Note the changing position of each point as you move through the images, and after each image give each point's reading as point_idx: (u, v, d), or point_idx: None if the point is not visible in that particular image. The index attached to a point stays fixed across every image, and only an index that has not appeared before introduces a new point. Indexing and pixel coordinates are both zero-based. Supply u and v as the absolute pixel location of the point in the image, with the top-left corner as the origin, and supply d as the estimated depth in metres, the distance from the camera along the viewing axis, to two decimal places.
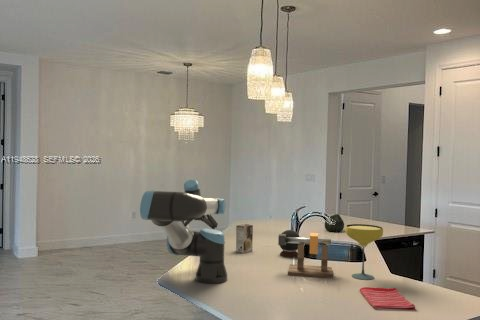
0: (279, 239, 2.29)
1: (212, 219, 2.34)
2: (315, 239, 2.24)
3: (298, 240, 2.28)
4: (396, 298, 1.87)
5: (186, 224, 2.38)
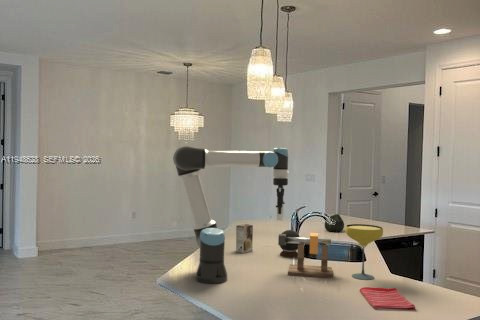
0: (279, 239, 2.29)
1: (279, 196, 2.24)
2: (315, 239, 2.24)
3: (298, 240, 2.28)
4: (396, 298, 1.87)
5: None
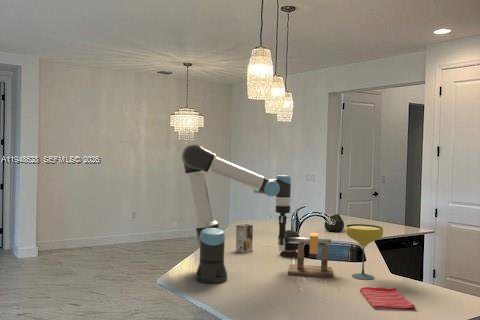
0: None
1: (281, 227, 2.25)
2: (315, 239, 2.24)
3: (298, 240, 2.28)
4: (396, 298, 1.87)
5: None
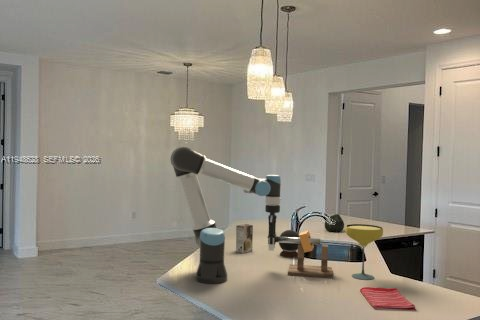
0: None
1: (271, 227, 2.26)
2: (305, 237, 2.24)
3: (287, 240, 2.29)
4: (396, 298, 1.87)
5: None
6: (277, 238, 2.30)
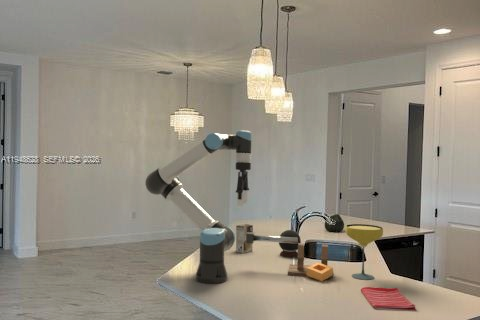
0: (247, 237, 2.32)
1: (240, 181, 2.13)
2: (318, 277, 2.13)
3: (265, 238, 2.31)
4: (397, 298, 1.87)
5: None
6: (255, 237, 2.32)
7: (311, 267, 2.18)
